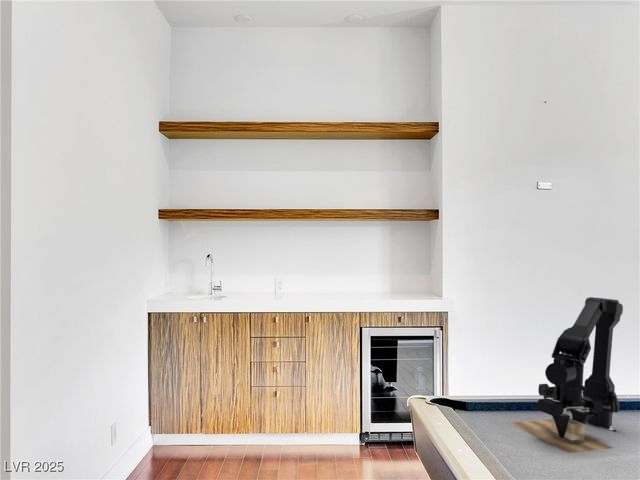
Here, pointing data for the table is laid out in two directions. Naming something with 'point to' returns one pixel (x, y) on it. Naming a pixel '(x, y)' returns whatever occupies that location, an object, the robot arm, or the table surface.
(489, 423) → the table surface
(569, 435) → the block
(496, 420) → the table surface
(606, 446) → the light brown wooden board
